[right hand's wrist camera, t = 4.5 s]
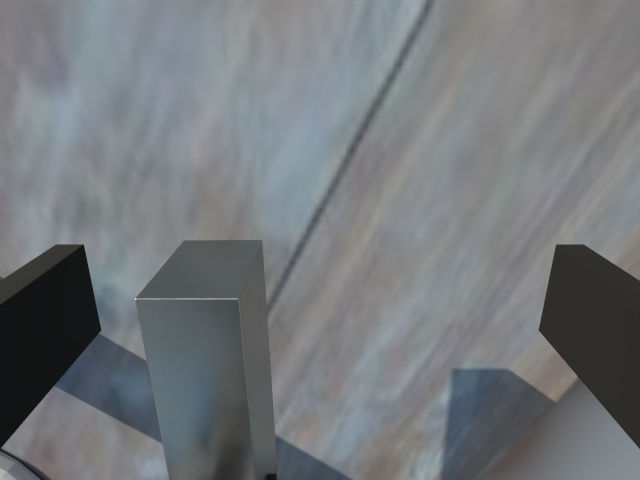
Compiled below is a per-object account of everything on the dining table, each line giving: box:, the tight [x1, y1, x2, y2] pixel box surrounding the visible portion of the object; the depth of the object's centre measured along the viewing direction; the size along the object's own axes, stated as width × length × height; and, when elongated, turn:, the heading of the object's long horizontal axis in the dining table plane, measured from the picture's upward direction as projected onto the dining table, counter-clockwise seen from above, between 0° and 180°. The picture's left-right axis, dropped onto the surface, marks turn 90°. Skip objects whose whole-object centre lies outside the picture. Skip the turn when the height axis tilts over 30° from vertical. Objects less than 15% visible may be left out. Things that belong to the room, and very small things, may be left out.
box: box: [135, 240, 277, 480], centre depth 32 cm, size 22×6×9 cm, turn 1°
